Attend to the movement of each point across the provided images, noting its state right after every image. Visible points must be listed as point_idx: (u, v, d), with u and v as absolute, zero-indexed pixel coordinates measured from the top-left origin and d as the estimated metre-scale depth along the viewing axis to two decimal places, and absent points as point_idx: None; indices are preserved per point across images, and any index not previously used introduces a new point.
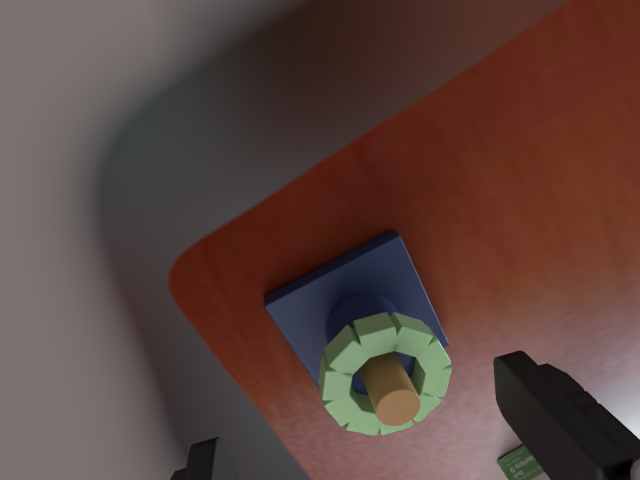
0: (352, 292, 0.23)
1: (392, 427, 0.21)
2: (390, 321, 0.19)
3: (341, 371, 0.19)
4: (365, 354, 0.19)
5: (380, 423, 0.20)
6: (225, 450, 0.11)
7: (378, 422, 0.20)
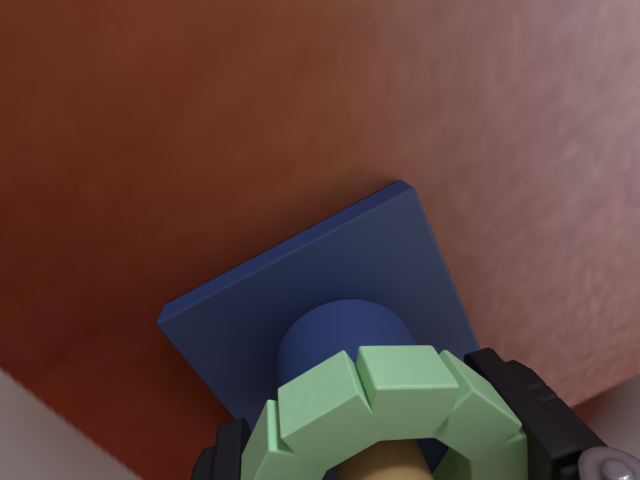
0: (272, 382, 0.13)
1: (514, 474, 0.09)
2: None
3: None
4: None
5: None
6: (249, 430, 0.11)
7: None
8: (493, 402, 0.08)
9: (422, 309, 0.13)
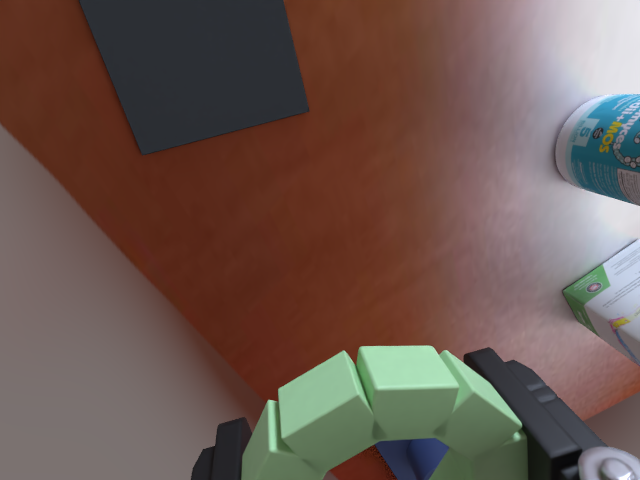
0: (404, 456, 0.39)
1: (514, 475, 0.09)
2: None
3: None
4: None
5: None
6: (249, 430, 0.11)
7: None
8: (493, 402, 0.08)
9: None
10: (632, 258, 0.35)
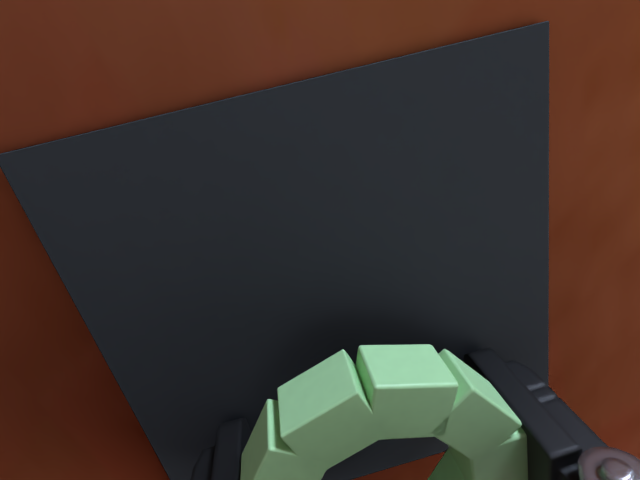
0: None
1: (514, 473, 0.09)
2: None
3: None
4: None
5: None
6: (249, 430, 0.11)
7: None
8: (493, 401, 0.08)
9: None
10: None
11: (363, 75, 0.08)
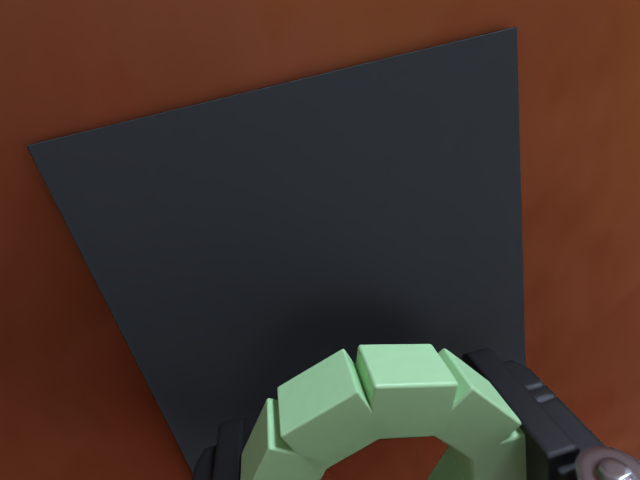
0: None
1: (513, 473, 0.09)
2: None
3: None
4: None
5: None
6: (251, 429, 0.11)
7: None
8: (492, 400, 0.08)
9: None
10: None
11: (352, 75, 0.09)
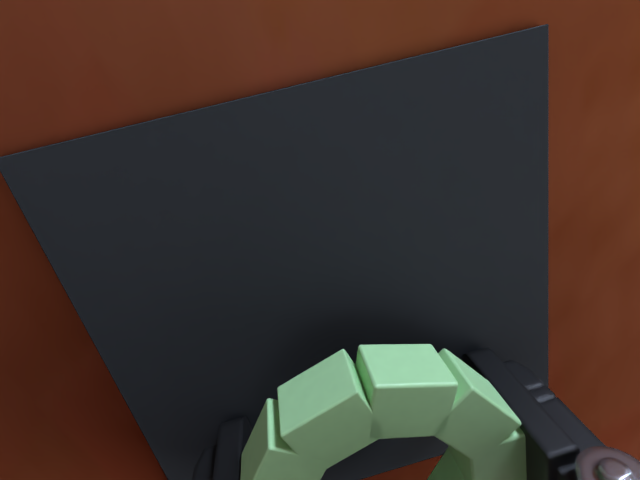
0: None
1: (513, 473, 0.09)
2: None
3: None
4: None
5: None
6: (251, 429, 0.11)
7: None
8: (492, 400, 0.08)
9: None
10: None
11: (363, 78, 0.08)
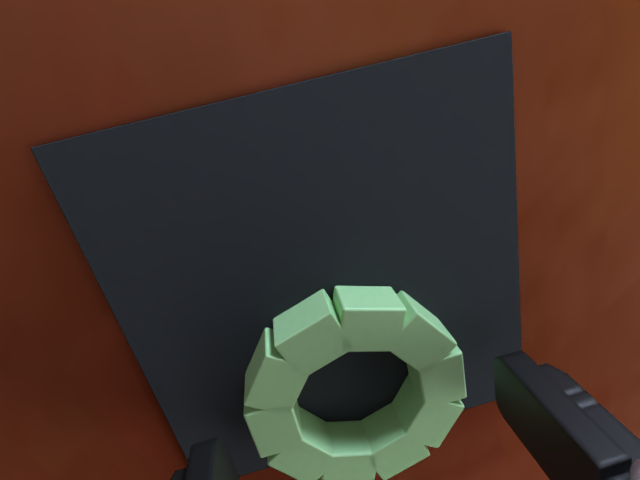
0: None
1: (454, 385, 0.12)
2: (244, 405, 0.12)
3: (323, 470, 0.12)
4: (294, 446, 0.12)
5: (440, 403, 0.12)
6: (225, 450, 0.11)
7: (436, 407, 0.12)
8: (433, 324, 0.11)
9: None
10: None
11: (350, 78, 0.10)
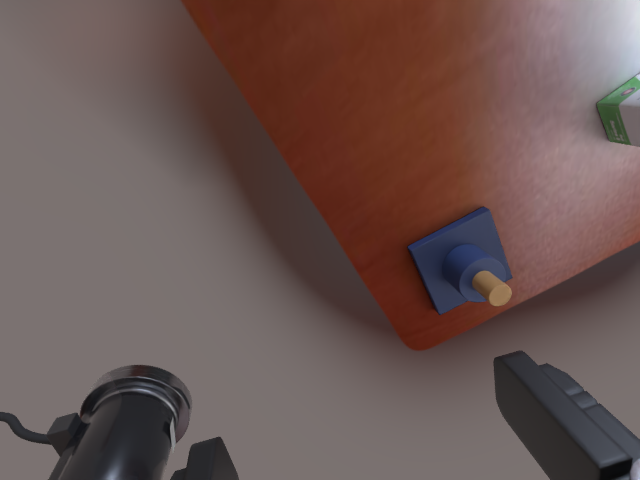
0: (440, 272, 0.41)
1: None
2: None
3: None
4: None
5: None
6: (225, 450, 0.11)
7: None
8: None
9: (489, 248, 0.41)
10: None
11: None
